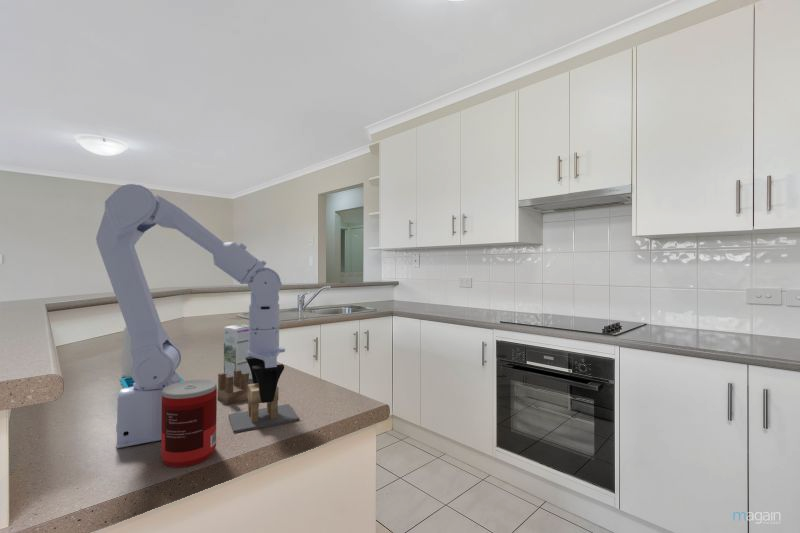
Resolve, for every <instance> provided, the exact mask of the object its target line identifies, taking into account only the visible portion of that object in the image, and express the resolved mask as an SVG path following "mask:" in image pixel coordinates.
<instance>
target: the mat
mask: <svg viewBox="0 0 800 533" xmlns="http://www.w3.org/2000/svg"><path fill="white" fill-rule="evenodd" d="M227 415H228V419H229V420H228V421H229V422H230V426H231V430H232V433H234V434H235V433H240V432H245V431H246V432H247V431H250V430H251V431H252V430H257V429H261V428H265V427H272V426H277V425H281V424H286V423H292V422H296V421H301V419H300V416H299V414H297V413H296V411H295V410H294V409H293V407H292V406H291V405H290V404H289V403H287V404H285V403H284V404H280V405H279V404H278V418H275V419H271V418H270V413H268V412H267V407H263V408H262V407H261V408H259V410H258V422H253V423H252V422H251V416H249V415H248V410H244V411H240V412H235V413H229V414H227Z"/></svg>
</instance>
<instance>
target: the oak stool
mask: <svg viewBox="0 0 800 533" xmlns="http://www.w3.org/2000/svg"><path fill="white" fill-rule="evenodd" d="M247 401H248V402H247V403H248V404H247V408H248V409H247V411H248V415H249V416H251V422H252V423H253V422H258V410H259V409H260V408H259V404H263V403H262V402H261V399H260V393H259V386H258V383H255V384H253V383H250V384H248V399H247ZM278 403H279V387H278V385H277V387H276V392H275V397H274V400H273V402H267V403H266V408H267V412H268V413H270V418H271V419H275V418H278V406H279V404H278Z"/></svg>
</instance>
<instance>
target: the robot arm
mask: <svg viewBox="0 0 800 533" xmlns="http://www.w3.org/2000/svg"><path fill="white" fill-rule="evenodd" d="M157 225H158V226H159V227H161V228H166V229H174V230H177V231H178V232H180V233H181V234H183V235H184V236H186V238H189V240H191V241H193V242H194V243H196V244H197V245H198V246H200V247H201V248H203V249H204V250H206V251H207V252H209V253H210V254H212V256H213V257H212V258H213V265H214V266H215V267H217V268H218V269H220V270H221V271H222V272H224V273H225V274H227V276H229V277H231V278H232V279H234V280H235V281H236V282H238V283H239V284H241V285H244V284H246V285H247V287H248V289H249V290H250V304H249V306H248V325H249V350H248V356H249V357H246V358H245V359H246V361H247V362H248V365H249V367H250V370H251V374H252V379H251V380H252V384H255V383H258V386H259V393H260V399H261V402H262V403H261V404H265V403H266V404H267V402H273V400H274V397H275V392H276V387H277V386H278V382H279V380H280V379H281V378H280V377H281V375H282V374H283V371H284V369H285V365H284V364H283V363H281V364H280V363H279V364H278V360H277V359H278V357H279V355H280V354H281V353H285V352H286V348H285V347H284V346H282V347H281V346H280V304H279V301H280V296H279V292H280V290H281V289H282V284H283V283H282V281H281V278H280V275H279V274H278V272H276V271H275V270H273V269H272V268H270V267H265V266H266V265H267V262H266V261H265V260H263V259H262V260H259V259H258V258H257V257H256V256H254V255H253V254H252V253H250V252H249V251H247V246H246V245H245V244H244V243H242V242H241V243H240V244H238V243H237V242H236V241H227V242H225V241H222V239H220V238H219V237H218V236H216V235H215V234H214V233H212V232H211V231H210V229H207V228H206V227H205V226H204V225H202V224H201V223H199V222H198V221H197V220H196V219H195V218H193V217H192V216H191V215H190V214H188V213H187V212H186V211H185V210H183V209H182V208H180V207H179V206H177V205H175V204H174V203H172V202H170V201H169V200H167V199H166V198H163V197H162V196H161V195H158V194H156V196H155V195H154V194H153V192H152V191H151V190H150V189H149V188H148V187H145V186H143V185H141V184H136V183H129V184H124V185H122V186H121V185H120V186H119V187H118V188H117V189H116V190H114V191H113V193H111V194H110V195H109V197H108V198H107V199H105V201H104V213H103V215H102V218H101V222H100V225H99V228H98V231H97V234H96V238H95V240H96V245H97V248H98V252H99V253H100V255H101V258H102V259H101V260H102V262H103V264H104V267H105V270H106V274H107V275H108V278H109V281H110V283H111V287H112V289H113V293H114V295H115V298H116V300H117V302H118V303H117V304H118V307H119V309H120V312H121V315H122V318H123V320H124V323H125V326H127V329H128V332H129V335H130V337H131V343H130V353H131V356H132V359H133V363H132V368H131V376H132V379H133V380H134V382H135V383H133V387H129V388H123V387H122V388H120V389H119V392H118V396H117V404H116V405H117V408H116V426H115V427H116V445H115V447H116V448H117V449H121V448H125V447H130V446H131V447H132V446H136V445H141V444H146V443H152V442H158V441H161V434H162V391H163V389H164V388H165V387H167V386H169V385H172V384H174V383H178V382H181V378H182V377H181V376H180V375H179V374H178V373H177V372H176V370H177V368H178V367H179V365H180V363H181V362H182V353H181V351H180V349H179V348H178V347H177V346H176V345H175V344H173V343H172V341H171V339H170V337H169V334H168V333H167V331H166V330H165V328H164V327H163V325H162V322H161V319H160V315H159V313H158V310H157V307H156V305H155V303H154V298H153V296H152V293H151V291H150V288H149V285H148V281H147V278H146V276H145V273H144V270H143V267H142V265H141V261H140V259H139V255H138V253H137V251H136V247H135V246H136V244H137V243H138V241H139V240H140V239H141V238H142V236H143V235H144V234H145V233H146V231H148V230H150V229H152V228H153V227H156V226H157ZM177 374H178V375H179V376H180V377H181V378H180V377H179V376H178V375H177Z"/></svg>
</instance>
